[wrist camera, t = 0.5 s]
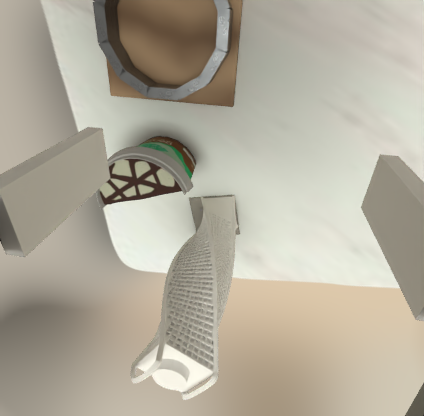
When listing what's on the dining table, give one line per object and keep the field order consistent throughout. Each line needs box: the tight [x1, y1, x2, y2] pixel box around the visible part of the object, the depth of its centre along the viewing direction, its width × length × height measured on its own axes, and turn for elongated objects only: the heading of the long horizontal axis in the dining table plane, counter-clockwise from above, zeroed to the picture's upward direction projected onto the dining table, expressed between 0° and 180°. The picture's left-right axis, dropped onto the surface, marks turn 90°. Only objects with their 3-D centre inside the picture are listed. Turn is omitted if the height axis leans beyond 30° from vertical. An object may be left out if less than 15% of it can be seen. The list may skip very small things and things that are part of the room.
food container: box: [96, 136, 196, 209], centre depth 38 cm, size 12×6×10 cm, turn 106°
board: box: [106, 0, 243, 107], centre depth 34 cm, size 16×16×1 cm
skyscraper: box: [131, 195, 240, 400], centre depth 34 cm, size 8×8×28 cm
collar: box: [93, 0, 233, 100], centre depth 32 cm, size 14×14×3 cm
